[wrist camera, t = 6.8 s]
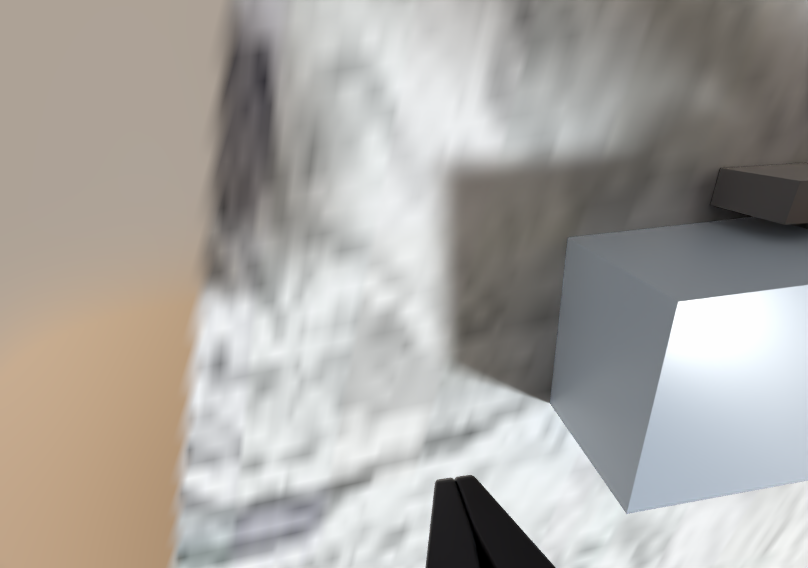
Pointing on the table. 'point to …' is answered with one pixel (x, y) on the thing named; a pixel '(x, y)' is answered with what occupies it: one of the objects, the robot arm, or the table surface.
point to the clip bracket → (765, 192)
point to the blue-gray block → (686, 359)
